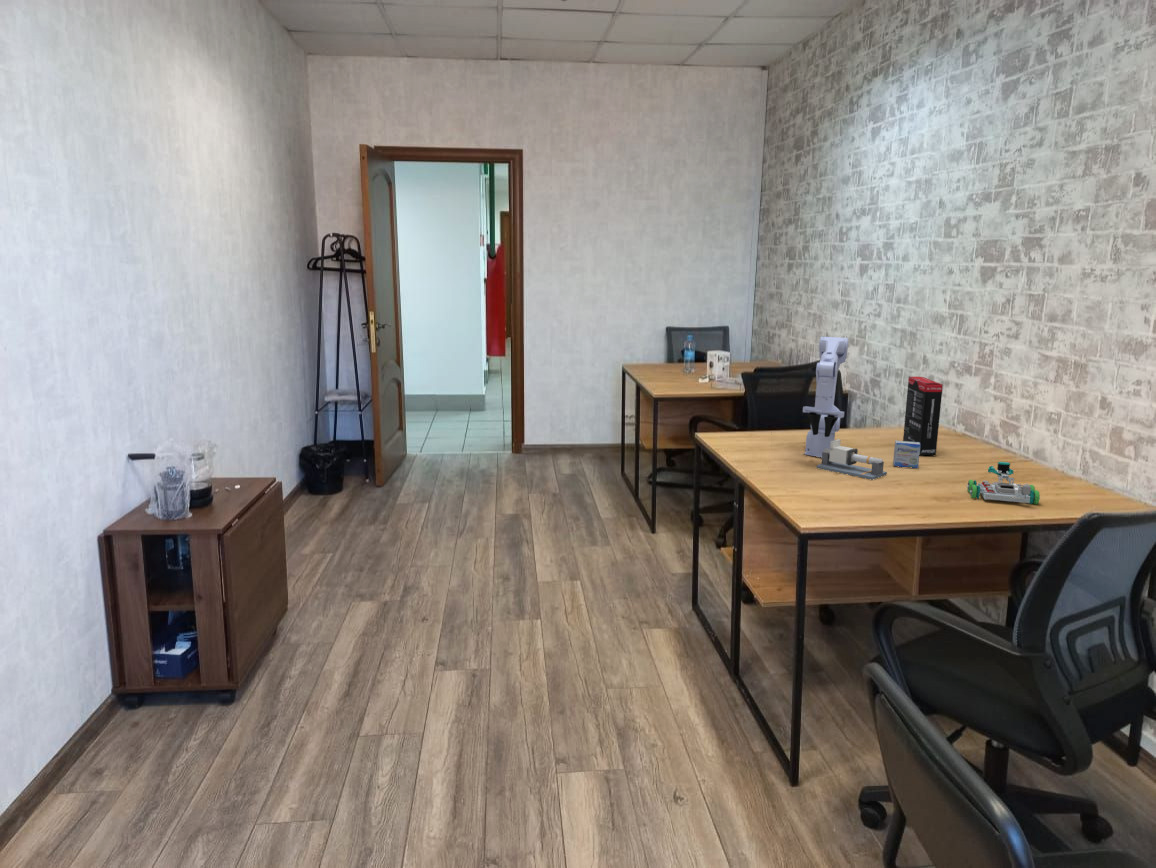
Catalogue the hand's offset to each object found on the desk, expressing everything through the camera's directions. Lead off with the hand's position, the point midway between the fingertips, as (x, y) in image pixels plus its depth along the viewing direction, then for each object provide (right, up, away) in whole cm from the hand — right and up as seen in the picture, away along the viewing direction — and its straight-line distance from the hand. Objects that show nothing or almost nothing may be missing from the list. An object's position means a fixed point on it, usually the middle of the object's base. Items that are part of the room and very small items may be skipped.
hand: (821, 435), depth 273 cm
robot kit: (+45, -18, -30) cm, 57 cm away
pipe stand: (+8, -12, -6) cm, 16 cm away
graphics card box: (+44, -6, +24) cm, 51 cm away
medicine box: (+30, -11, +2) cm, 32 cm away
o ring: (+8, -10, -6) cm, 14 cm away
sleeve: (+6, -9, -4) cm, 11 cm away
